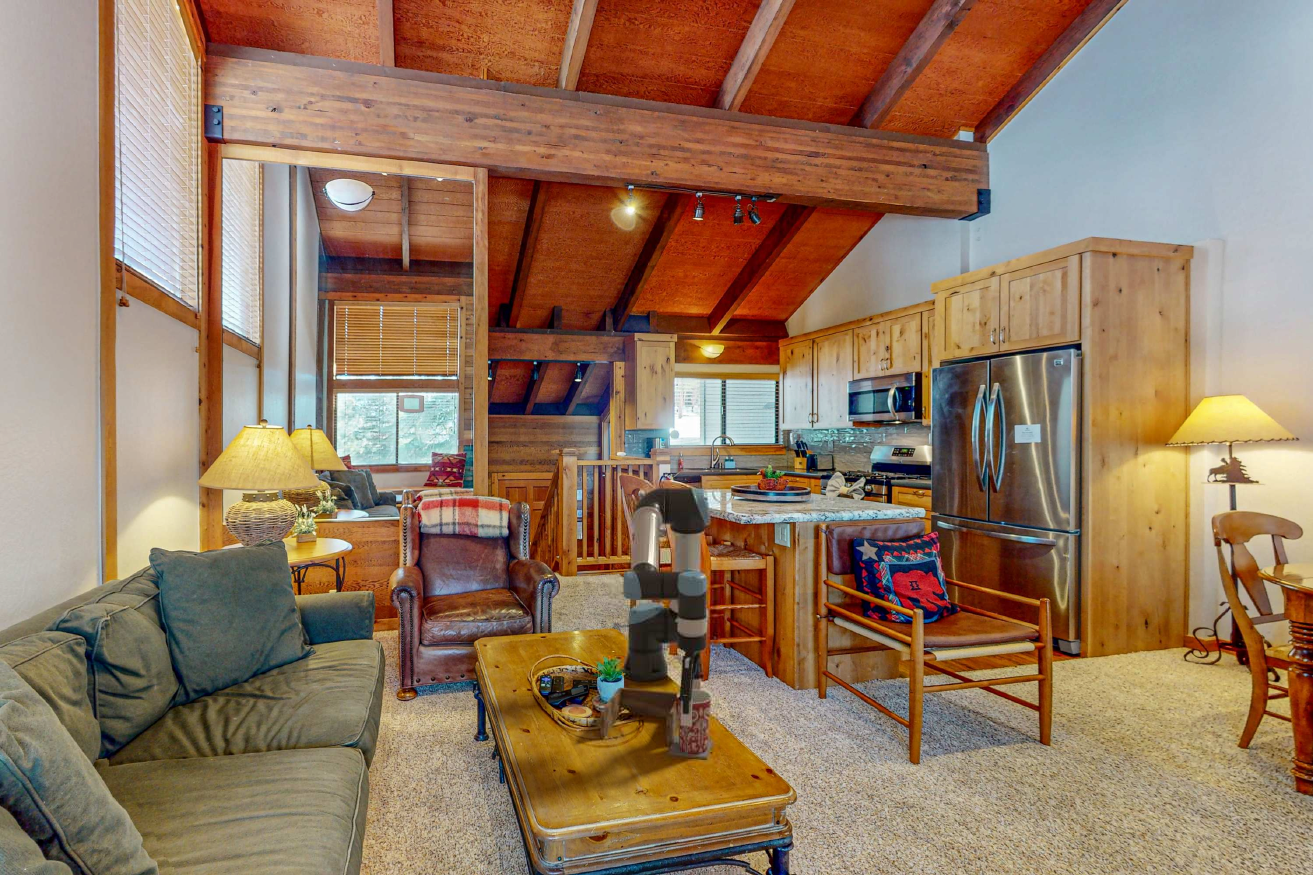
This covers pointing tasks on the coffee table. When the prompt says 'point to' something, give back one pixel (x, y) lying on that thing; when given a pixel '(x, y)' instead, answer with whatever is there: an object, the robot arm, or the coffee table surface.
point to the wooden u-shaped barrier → (641, 708)
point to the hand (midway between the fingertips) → (691, 713)
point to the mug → (695, 723)
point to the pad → (677, 751)
